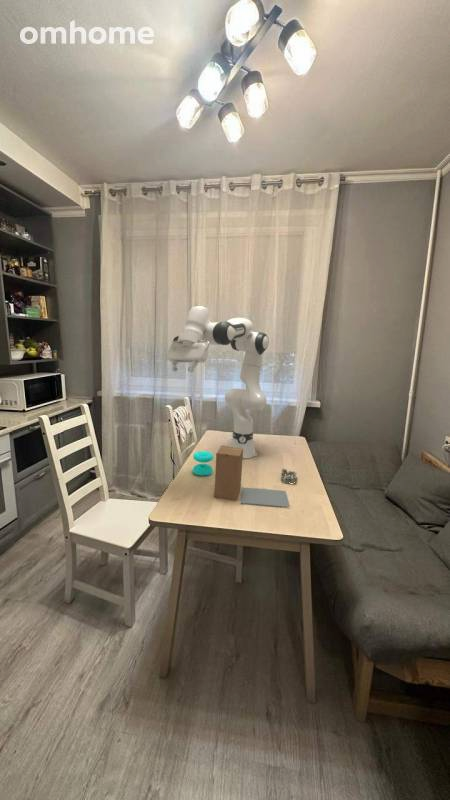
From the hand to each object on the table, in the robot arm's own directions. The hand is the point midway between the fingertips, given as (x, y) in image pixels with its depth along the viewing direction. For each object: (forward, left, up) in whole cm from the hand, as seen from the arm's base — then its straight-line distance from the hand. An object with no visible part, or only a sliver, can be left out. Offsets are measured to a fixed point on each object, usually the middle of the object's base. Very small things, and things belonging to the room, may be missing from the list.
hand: (182, 371), depth 128 cm
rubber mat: (+2, +38, -52) cm, 65 cm away
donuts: (-19, +8, -53) cm, 57 cm away
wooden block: (+1, +22, -53) cm, 57 cm away
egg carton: (-19, +51, -53) cm, 76 cm away
